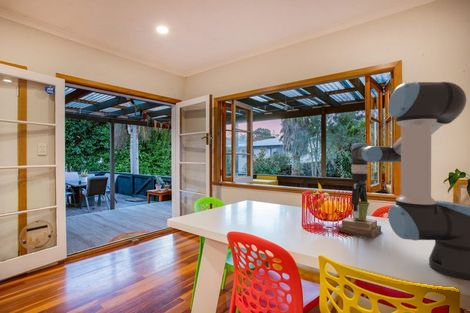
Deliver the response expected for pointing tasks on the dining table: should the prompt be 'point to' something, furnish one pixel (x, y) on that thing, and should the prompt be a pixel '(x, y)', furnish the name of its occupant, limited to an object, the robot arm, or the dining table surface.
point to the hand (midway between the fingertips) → (359, 215)
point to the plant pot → (362, 210)
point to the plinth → (360, 232)
